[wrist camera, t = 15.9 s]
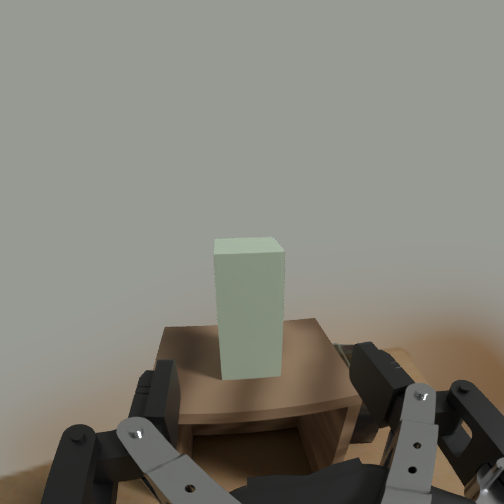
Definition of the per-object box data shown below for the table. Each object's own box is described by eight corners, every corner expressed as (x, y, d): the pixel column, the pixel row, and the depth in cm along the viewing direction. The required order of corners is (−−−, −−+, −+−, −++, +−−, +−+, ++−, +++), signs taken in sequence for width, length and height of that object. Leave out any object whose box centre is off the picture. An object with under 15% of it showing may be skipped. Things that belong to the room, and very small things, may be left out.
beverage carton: (359, 369, 51) (365, 340, 49) (375, 445, 33) (387, 414, 31) (318, 368, 52) (322, 339, 51) (320, 447, 34) (327, 417, 32)
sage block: (222, 380, 24) (213, 254, 21) (221, 348, 29) (214, 238, 26) (280, 376, 24) (285, 251, 21) (271, 345, 29) (273, 236, 26)
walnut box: (182, 509, 24) (142, 413, 19) (185, 430, 37) (164, 326, 33) (329, 494, 26) (364, 393, 21) (303, 421, 39) (314, 318, 34)
